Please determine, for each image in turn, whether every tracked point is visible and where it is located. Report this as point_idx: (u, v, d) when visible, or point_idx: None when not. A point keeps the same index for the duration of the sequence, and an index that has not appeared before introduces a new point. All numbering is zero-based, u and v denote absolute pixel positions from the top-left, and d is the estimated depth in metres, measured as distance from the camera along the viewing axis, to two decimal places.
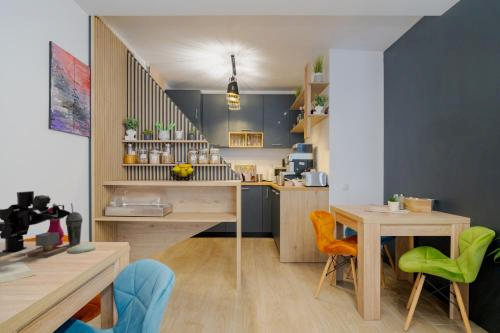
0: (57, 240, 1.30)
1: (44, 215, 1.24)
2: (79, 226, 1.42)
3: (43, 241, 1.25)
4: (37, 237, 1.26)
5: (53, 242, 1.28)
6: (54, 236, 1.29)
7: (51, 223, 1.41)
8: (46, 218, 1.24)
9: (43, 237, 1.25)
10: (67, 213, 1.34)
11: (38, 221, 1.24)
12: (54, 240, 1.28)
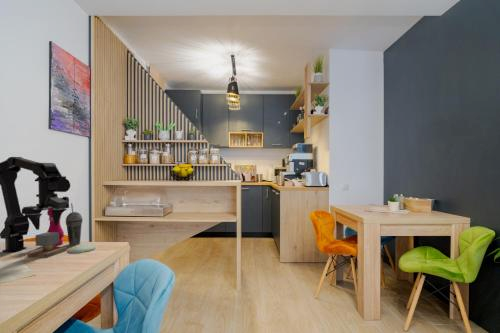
0: (57, 240, 1.30)
1: (36, 223, 1.23)
2: (79, 226, 1.42)
3: (43, 241, 1.25)
4: (37, 237, 1.26)
5: (53, 242, 1.28)
6: (54, 236, 1.29)
7: (51, 223, 1.41)
8: (34, 224, 1.23)
9: (43, 237, 1.25)
10: (55, 223, 1.33)
11: (30, 217, 1.22)
12: (54, 240, 1.28)
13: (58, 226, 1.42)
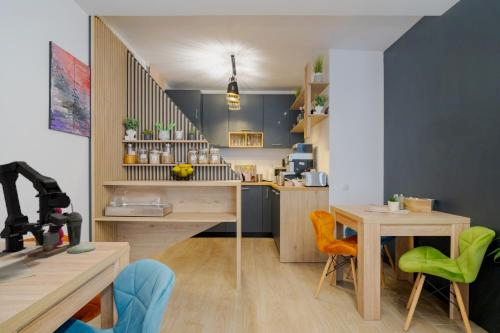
0: (57, 240, 1.30)
1: (40, 239, 1.24)
2: (79, 226, 1.42)
3: (43, 241, 1.25)
4: None
5: (53, 242, 1.28)
6: (54, 236, 1.29)
7: None
8: (38, 240, 1.25)
9: (43, 237, 1.25)
10: None
11: (33, 233, 1.24)
12: (54, 240, 1.28)
13: None
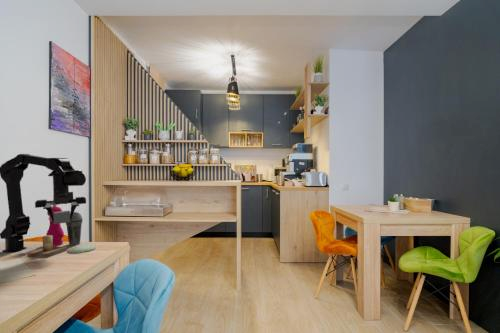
0: (67, 219, 1.29)
1: None
2: (79, 226, 1.42)
3: None
4: None
5: (62, 221, 1.28)
6: (64, 215, 1.28)
7: (51, 223, 1.41)
8: (51, 217, 1.28)
9: None
10: None
11: None
12: (63, 219, 1.28)
13: (58, 226, 1.42)
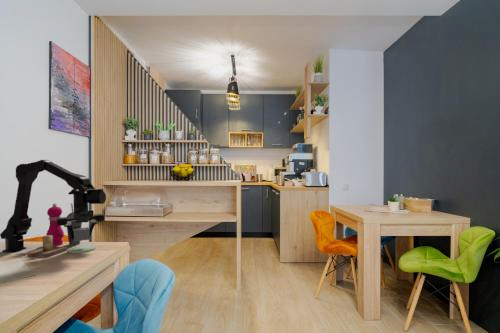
0: (87, 237, 1.32)
1: None
2: (79, 226, 1.42)
3: None
4: (73, 231, 1.33)
5: (82, 238, 1.31)
6: (83, 232, 1.31)
7: (51, 223, 1.41)
8: (71, 234, 1.31)
9: (73, 232, 1.31)
10: None
11: None
12: (83, 236, 1.31)
13: (58, 226, 1.42)
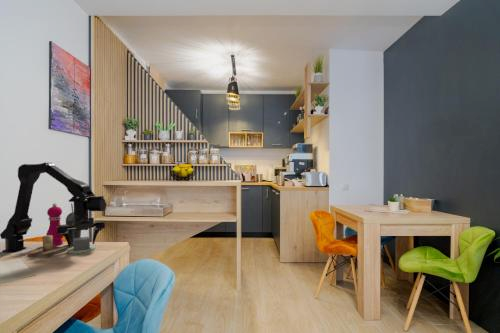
0: (87, 246, 1.32)
1: (67, 241, 1.29)
2: None
3: None
4: (73, 240, 1.33)
5: (82, 248, 1.31)
6: (84, 242, 1.31)
7: (51, 223, 1.41)
8: (67, 242, 1.31)
9: None
10: (92, 241, 1.36)
11: None
12: (83, 246, 1.31)
13: None
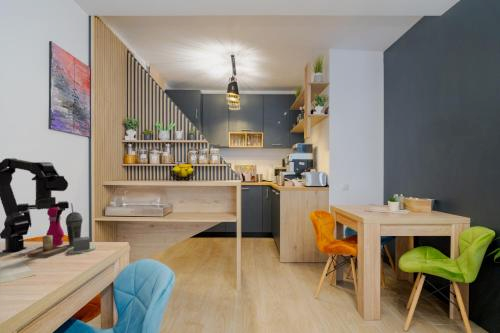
0: (87, 246, 1.32)
1: (27, 220, 1.27)
2: (79, 226, 1.42)
3: None
4: (73, 240, 1.33)
5: (82, 248, 1.31)
6: (84, 242, 1.31)
7: (51, 223, 1.41)
8: (28, 221, 1.28)
9: None
10: None
11: None
12: (83, 246, 1.31)
13: (58, 226, 1.42)
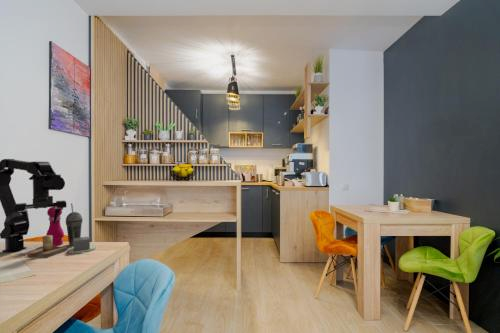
0: (87, 246, 1.32)
1: None
2: (79, 226, 1.42)
3: None
4: (73, 240, 1.33)
5: (82, 248, 1.31)
6: (84, 242, 1.31)
7: (51, 223, 1.41)
8: (26, 221, 1.28)
9: None
10: None
11: None
12: (83, 246, 1.31)
13: (58, 226, 1.42)
